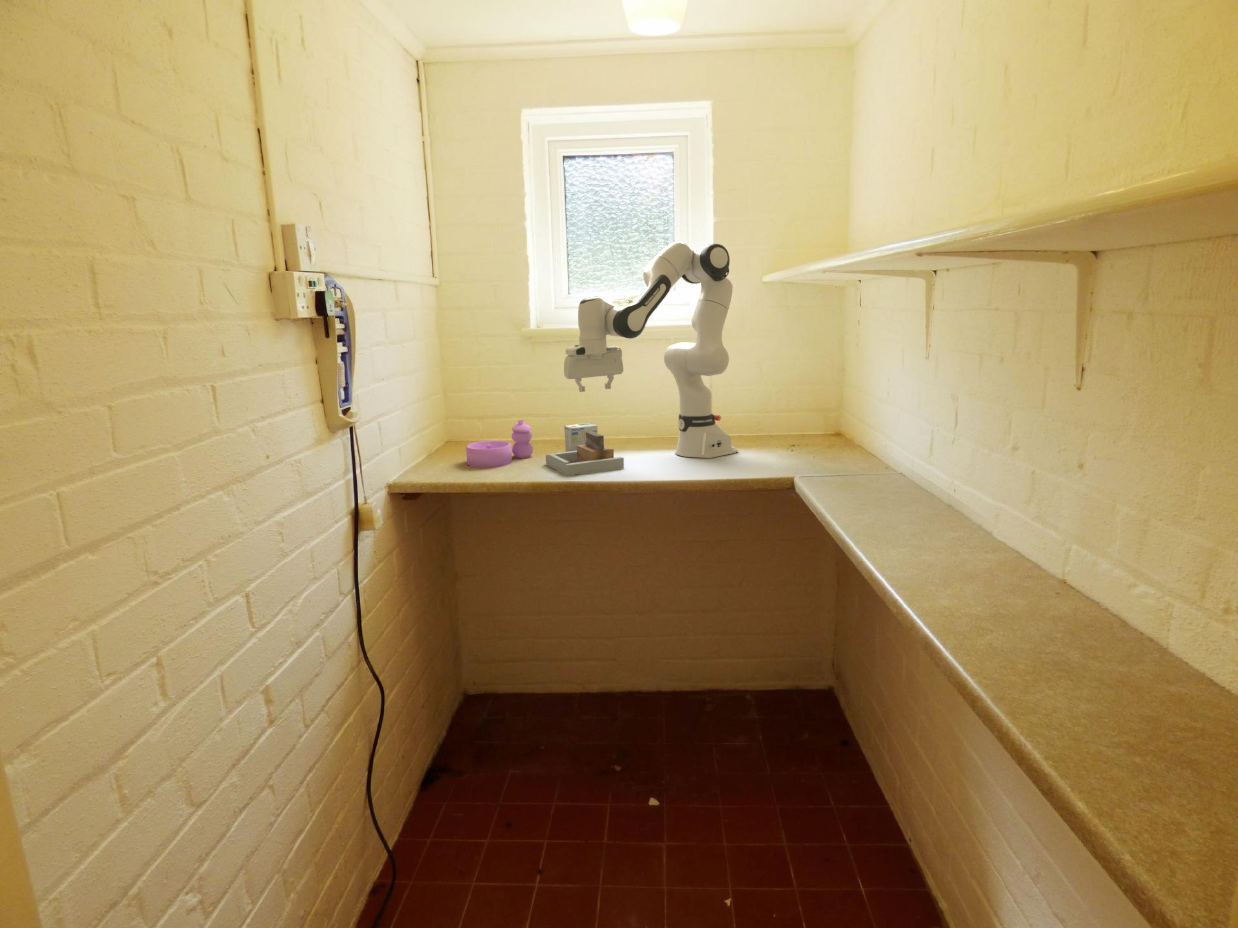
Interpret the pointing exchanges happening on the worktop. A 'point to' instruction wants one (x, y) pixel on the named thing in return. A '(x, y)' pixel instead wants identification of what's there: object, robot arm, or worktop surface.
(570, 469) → the bay
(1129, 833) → the worktop surface
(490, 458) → the container set
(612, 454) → the brown and grey block
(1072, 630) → the worktop surface
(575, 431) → the light bulb box
